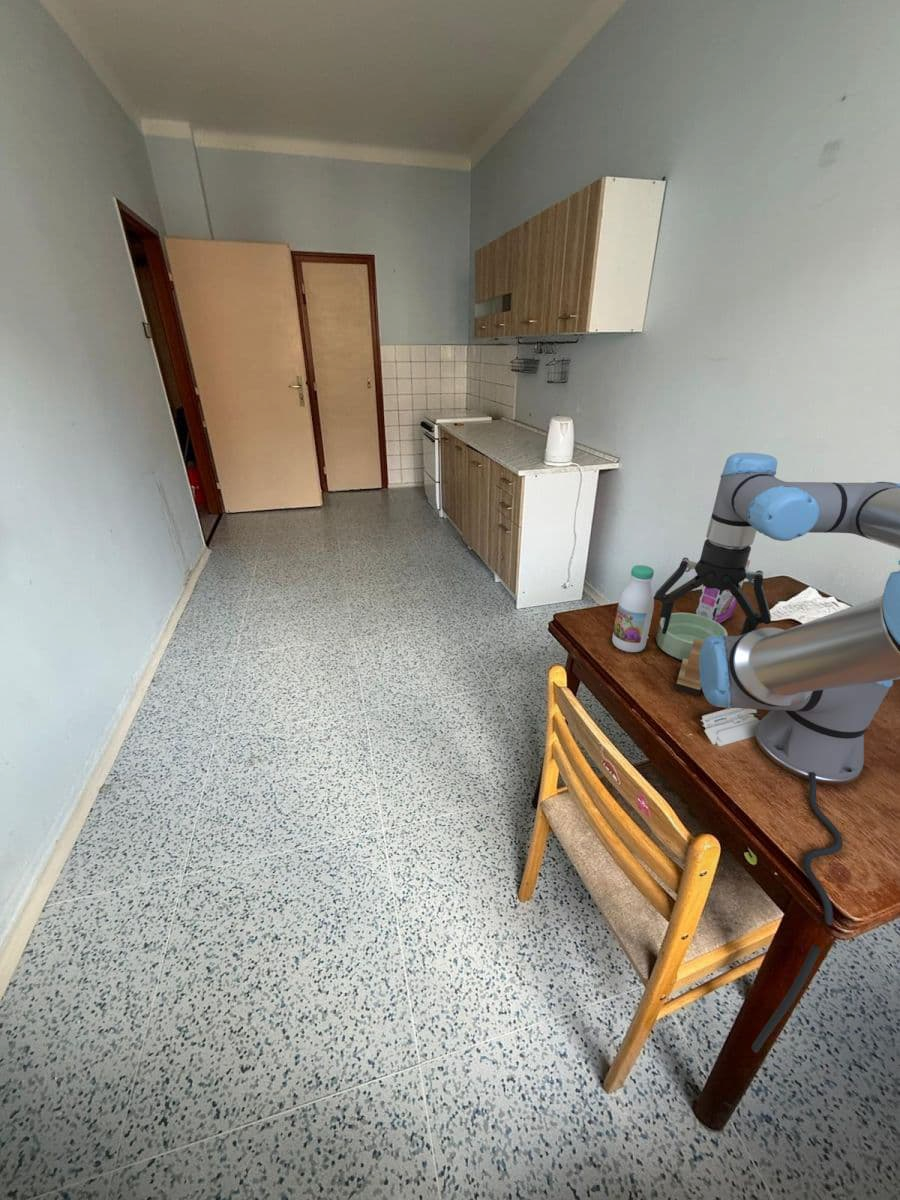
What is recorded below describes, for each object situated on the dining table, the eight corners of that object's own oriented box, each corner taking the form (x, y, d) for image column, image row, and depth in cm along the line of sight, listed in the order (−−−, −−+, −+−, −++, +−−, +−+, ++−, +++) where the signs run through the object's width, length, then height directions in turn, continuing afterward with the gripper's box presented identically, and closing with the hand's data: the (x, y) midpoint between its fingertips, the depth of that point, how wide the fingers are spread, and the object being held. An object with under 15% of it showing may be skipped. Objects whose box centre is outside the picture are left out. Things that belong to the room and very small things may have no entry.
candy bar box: (711, 630, 118) (728, 571, 110) (692, 622, 122) (707, 564, 114) (733, 617, 124) (751, 559, 116) (714, 609, 127) (731, 553, 120)
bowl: (718, 672, 103) (725, 651, 101) (650, 653, 110) (655, 633, 107) (723, 641, 114) (729, 621, 111) (661, 626, 120) (665, 607, 118)
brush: (698, 696, 96) (709, 660, 92) (674, 689, 98) (684, 653, 94) (702, 675, 102) (713, 640, 98) (680, 669, 104) (689, 634, 100)
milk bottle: (625, 632, 118) (639, 559, 109) (652, 646, 112) (669, 570, 103) (604, 641, 115) (617, 566, 105) (631, 657, 109) (646, 579, 99)
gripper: (809, 547, 83) (772, 647, 93) (659, 524, 94) (640, 616, 104) (812, 563, 77) (772, 667, 87) (651, 536, 88) (632, 632, 99)
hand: (700, 639), depth 96 cm, fingers open, 13 cm apart
